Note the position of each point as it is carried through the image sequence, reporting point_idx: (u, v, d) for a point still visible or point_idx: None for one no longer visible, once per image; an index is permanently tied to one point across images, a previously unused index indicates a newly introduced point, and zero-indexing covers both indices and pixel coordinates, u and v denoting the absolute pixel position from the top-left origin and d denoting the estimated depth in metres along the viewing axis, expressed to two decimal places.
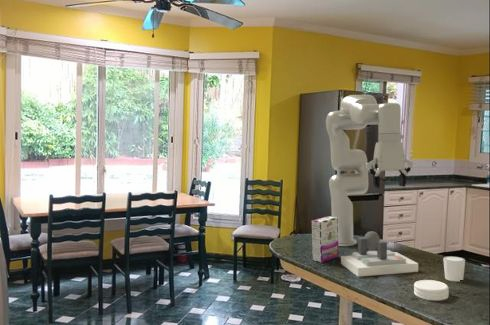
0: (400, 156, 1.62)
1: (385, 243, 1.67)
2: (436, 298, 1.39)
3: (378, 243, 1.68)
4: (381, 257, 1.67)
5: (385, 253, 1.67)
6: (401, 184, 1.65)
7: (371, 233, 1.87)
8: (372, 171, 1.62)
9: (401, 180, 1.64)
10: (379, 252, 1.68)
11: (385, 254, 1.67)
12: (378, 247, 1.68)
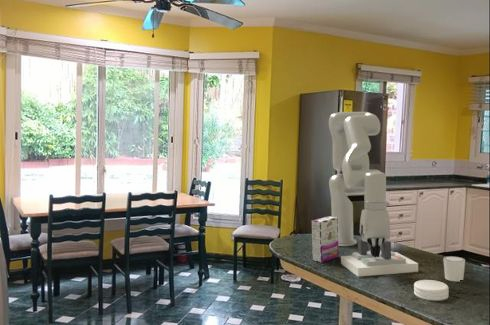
0: (385, 224, 1.66)
1: (389, 243, 1.67)
2: (436, 298, 1.39)
3: (382, 243, 1.69)
4: (385, 257, 1.67)
5: (389, 253, 1.68)
6: None
7: None
8: (369, 241, 1.67)
9: None
10: (383, 252, 1.68)
11: (389, 254, 1.68)
12: (382, 247, 1.69)
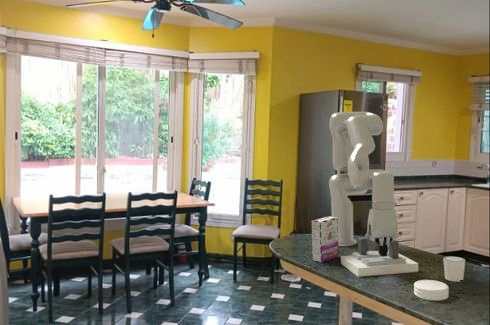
0: (393, 223, 1.66)
1: (397, 242, 1.68)
2: (436, 298, 1.39)
3: (390, 242, 1.69)
4: (393, 256, 1.68)
5: (397, 252, 1.68)
6: None
7: None
8: (377, 240, 1.67)
9: None
10: (391, 251, 1.69)
11: (397, 253, 1.68)
12: (390, 246, 1.69)
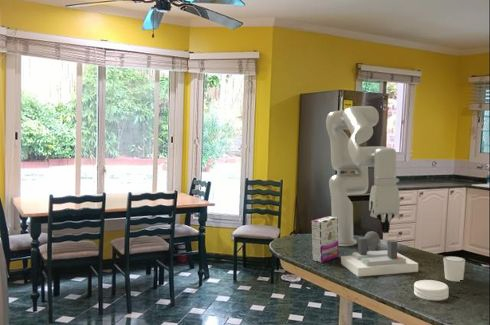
0: (395, 200, 1.66)
1: (395, 242, 1.68)
2: (436, 298, 1.39)
3: (388, 242, 1.69)
4: (391, 256, 1.68)
5: (395, 252, 1.68)
6: None
7: (371, 233, 1.87)
8: (379, 217, 1.67)
9: None
10: (389, 251, 1.68)
11: (395, 253, 1.68)
12: (388, 246, 1.69)
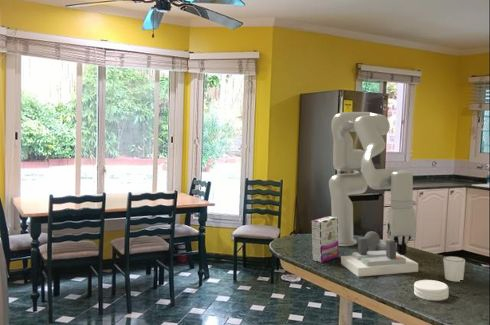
0: (412, 222, 1.67)
1: (394, 242, 1.68)
2: (436, 298, 1.39)
3: (387, 242, 1.69)
4: (390, 256, 1.68)
5: (394, 252, 1.68)
6: None
7: (371, 233, 1.87)
8: (396, 239, 1.68)
9: None
10: (388, 251, 1.68)
11: (394, 253, 1.68)
12: (387, 246, 1.69)
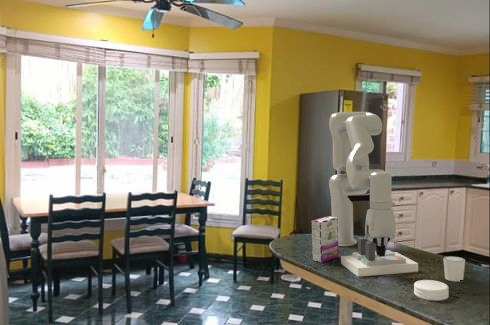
0: (391, 223, 1.66)
1: (373, 244, 1.66)
2: (436, 298, 1.39)
3: (366, 244, 1.68)
4: (369, 258, 1.66)
5: (373, 254, 1.66)
6: None
7: None
8: (375, 241, 1.67)
9: None
10: (367, 253, 1.67)
11: (373, 255, 1.67)
12: (366, 248, 1.68)
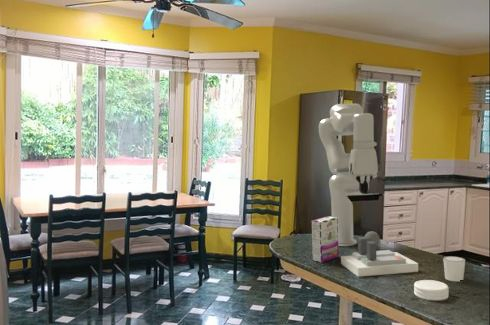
0: (373, 162, 1.76)
1: (374, 244, 1.66)
2: (436, 298, 1.39)
3: (368, 244, 1.68)
4: (370, 258, 1.66)
5: (374, 254, 1.67)
6: None
7: (371, 233, 1.87)
8: (358, 178, 1.77)
9: None
10: (368, 253, 1.67)
11: (374, 255, 1.67)
12: (368, 248, 1.68)
